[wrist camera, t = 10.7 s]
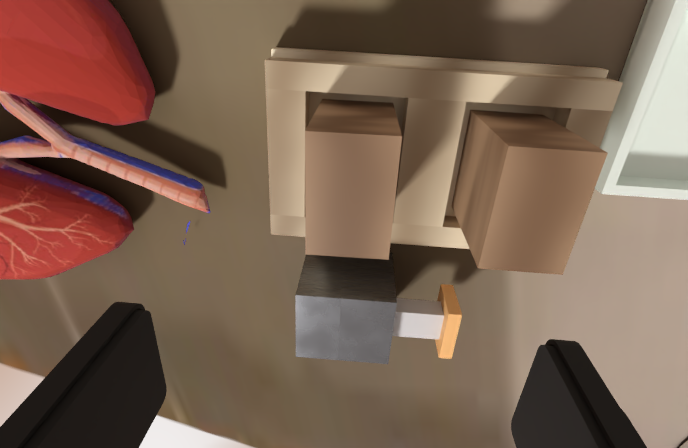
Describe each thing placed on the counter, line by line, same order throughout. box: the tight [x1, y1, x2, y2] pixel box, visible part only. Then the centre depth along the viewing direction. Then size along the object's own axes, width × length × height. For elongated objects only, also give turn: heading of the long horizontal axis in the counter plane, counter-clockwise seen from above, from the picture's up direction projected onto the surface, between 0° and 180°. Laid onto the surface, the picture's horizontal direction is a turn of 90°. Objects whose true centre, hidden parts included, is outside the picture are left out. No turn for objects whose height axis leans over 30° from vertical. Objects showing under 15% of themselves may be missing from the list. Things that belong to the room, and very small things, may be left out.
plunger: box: [392, 284, 462, 359], centre depth 26 cm, size 5×4×3 cm
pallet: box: [265, 47, 623, 249], centre depth 24 cm, size 18×11×3 cm, turn 87°
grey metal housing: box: [296, 253, 397, 364], centre depth 27 cm, size 6×5×6 cm
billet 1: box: [305, 99, 402, 260], centre depth 21 cm, size 4×6×7 cm, turn 178°
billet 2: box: [452, 110, 608, 275], centre depth 21 cm, size 4×6×7 cm, turn 177°
